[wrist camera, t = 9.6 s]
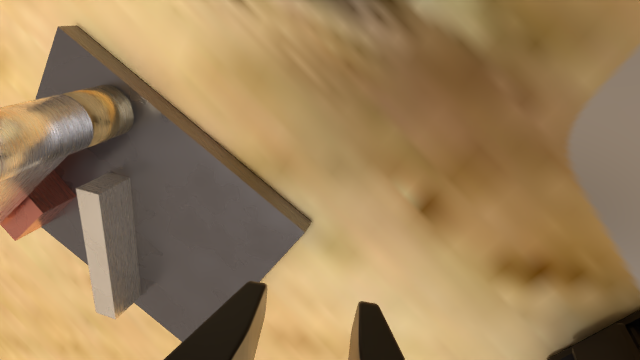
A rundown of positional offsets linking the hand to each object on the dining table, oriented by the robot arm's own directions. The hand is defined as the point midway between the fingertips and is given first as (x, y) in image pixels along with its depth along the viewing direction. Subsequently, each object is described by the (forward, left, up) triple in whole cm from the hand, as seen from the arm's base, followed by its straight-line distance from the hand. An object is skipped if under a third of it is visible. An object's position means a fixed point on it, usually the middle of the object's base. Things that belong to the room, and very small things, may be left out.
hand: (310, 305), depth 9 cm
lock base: (+9, +13, -12) cm, 20 cm away
